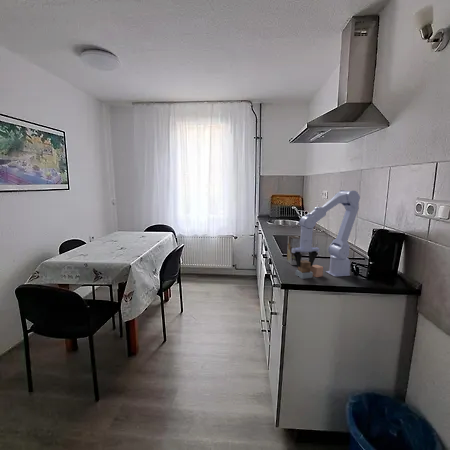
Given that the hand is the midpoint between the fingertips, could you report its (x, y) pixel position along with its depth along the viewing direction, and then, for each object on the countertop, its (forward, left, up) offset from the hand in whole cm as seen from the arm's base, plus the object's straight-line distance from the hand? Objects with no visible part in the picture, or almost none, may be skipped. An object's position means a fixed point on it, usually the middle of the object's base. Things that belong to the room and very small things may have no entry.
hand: (304, 265), depth 137 cm
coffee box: (-6, -23, -6) cm, 24 cm away
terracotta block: (-7, 0, -6) cm, 9 cm away
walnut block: (0, 0, -3) cm, 3 cm away
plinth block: (0, 0, -6) cm, 6 cm away
